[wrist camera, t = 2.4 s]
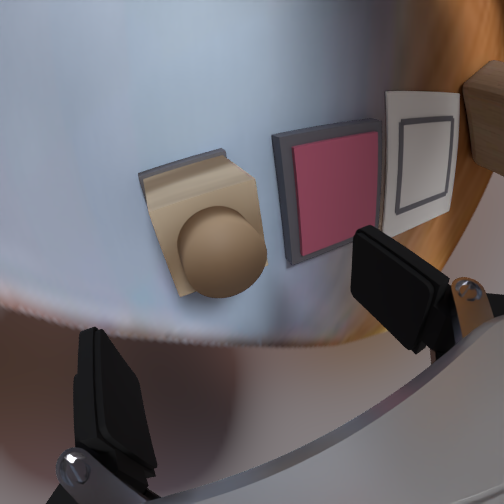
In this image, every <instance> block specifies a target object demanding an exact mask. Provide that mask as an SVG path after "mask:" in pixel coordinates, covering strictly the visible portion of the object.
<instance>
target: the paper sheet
mask: <svg viewBox="0 0 504 504" xmlns="http://www.w3.org/2000/svg"><path fill="white" fill-rule="evenodd" d="M385 98H386V178H385V197H384V211H383V223H382V232H383V233H385V234H386V235H388V236H389V237H394V236H396V235H398V234H400V233H402V232H405V231H407V230H409V229H411V228H414V227H416V226H418V225H420V224H422V223H424V222H427V221H429V220H431V219H433V218H435V217H437V216H439V215H442V214H444V213H446V212H448V211H449V210H450V204H451V198H452V192H453V185H454V177H455V169H456V160H457V150H458V137H459V117H460V94H459V93H448V92H428V91H385Z"/></svg>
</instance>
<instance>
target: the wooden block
mask: <svg viewBox="0 0 504 504" xmlns="http://www.w3.org/2000/svg"><path fill="white" fill-rule="evenodd" d="M463 96H464V101H465V106H466V112H467V118H468V124H469V131H470V139H471V148H472V158H473V160H474V162H475V163H477V164H478V165H480V166H482V167H484V168H487V169H489V170H491V171H493V172H496V173H498V174H500V175H502V176H504V62H501V61H496V60H492V61H489V62H488V63H487V64H486V65H485V66H483V67H482V68H481V69H480V70H479V71H477V72H476V73H475V74H474V75H473V76H472V77H470V78H469V79H468V80H467V81H466V82H464V85H463Z"/></svg>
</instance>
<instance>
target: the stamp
mask: <svg viewBox="0 0 504 504" xmlns="http://www.w3.org/2000/svg"><path fill="white" fill-rule="evenodd" d="M138 177H139V180H140V184H141V187H142V190H143V193H144V196H145V199H146V202H147V206H148V212H149V215H150V218H151V221H152V224H153V227H154V229H155V232H156V235H157V238H158V241H159V244H160V246H161V249H162V252H163V254H164V257H165V260H166V263H167V265H168V268H169V270H170V273H171V276H172V278H173V281H174V283H175V286H176V288H177V291H178V293H179V296H180V297H182V296H185V295H188V294H191V293H193V292H196V291H197V292H198V293H200V294H202V295H204V296H207V297H211V298H226V297H231V296H234V295H237V294H239V293H241V292H243V291H245V290H246V289H247V288H249V287H250V286H251V285H252V284H253V283H254V282H255V281H256V280H257V279H258V278H259V276H260V275H261V273H262V271H263V269H264V267H265V266H267V265H268V261H267V249H266V245H265V241H264V234H263V227H262V221H261V214H260V207H259V201H258V194H257V188H256V181H255V178H253V177H252V176H251V175H249V174H248V173H247V172H245V171H244V170H242V169H241V168H240V167H238V166H237V165H236V164H234V163H233V162H231V161H230V160H229V159H227V157H226V151H225V150H223V149H222V148H220V149H216V150H213V151H209V152H205V153H202V154H198V155H195V156H191V157H188V158H184V159H181V160H178V161H174V162H171V163H168V164H165V165H162V166H159V167H155V168H152V169H149V170H146V171H143V172H140V173H138Z"/></svg>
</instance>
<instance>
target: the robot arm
mask: <svg viewBox="0 0 504 504" xmlns="http://www.w3.org/2000/svg"><path fill="white" fill-rule="evenodd" d="M449 279H450V278H448V277H447V276H446V275H444V274H443V273H442V272H440V271H439V270H438V269H436V268H435V267H433V266H432V265H431V264H429V263H428V262H426V261H425V260H423V259H422V258H421V257H419V256H418V255H416V254H415V253H413V252H412V251H410V250H409V249H407V248H406V247H404V246H403V245H401V244H400V243H399V242H397V241H395V240H394V239H392V238H391V237H389V236H388V235H386V234H385V233H383V232H382V231H380V230H379V229H377V228H375V227H374V226H372V225H367V226H365V227H362V228H360V229H358V230H356V232H355V235H354V236H353V252H352V273H351V293H352V295H353V297H354V298H355V299H356V300H357V301H358V302H359V303H360V304H361V305H362V306H363V307H364V308H366V309H367V310H368V311H369V312H370V313H371V314H372V315H373V316H374V317H375V318H376V319H377V320H378V321H379V322H380V323H381V324H382V325H383V326H384V327H385V328H386V329H387V330H388V331H389V332H390V333H391V334H392V335H393V336H394V337H395V338H396V339H397V340H398V341H399V342H400V343H401V344H402V345H403V346H404V347H405V348H407V349H408V350H412V351H413V352H414V353H415V354H417V353H419V352H420V351H421V350H423V349H424V348H425V347H426V345H427V346H428V347H429V348H430V355H431V366H429V367H428V368H427V369H425V370H424V371H423V372H422V373H420V374H419V375H418V376H416V377H415V378H414V379H412V380H411V381H410V382H408V383H407V384H406V385H404V386H403V387H401V388H400V389H399V390H397V391H396V392H394V393H393V394H391V395H390V396H388V397H387V398H386V399H384V400H383V401H381V402H380V403H378V404H377V405H375V406H373V407H372V408H370V409H369V410H367V411H365V412H364V413H362V414H361V415H359V416H357V417H356V418H354V419H353V420H351V421H349V422H347V423H346V424H344V425H342V426H340V427H338V428H337V429H335V430H333V431H331V432H329V433H328V434H326V435H324V436H322V437H320V438H318V439H316V440H314V441H312V442H310V443H308V444H307V445H305V446H302V447H301V448H298V449H296V450H294V451H292V452H290V453H288V454H285V455H283V456H281V457H279V458H277V459H274V460H272V461H269V462H267V463H264V464H262V465H260V466H257V467H255V468H252V469H249V470H247V471H244V472H241V473H239V474H236V475H233V476H230V477H227V478H224V479H222V480H219V481H216V482H213V483H210V484H207V485H203V486H200V487H197V488H194V489H190V490H187V491H183V492H180V493H175V494H172V495H169V496H165V497H160V496H159V495H157V494H156V493H154V492H153V491H152V490H150V489H149V488H147V487H148V483H147V479H146V478H150V477H154V476H156V475H155V471H154V468H157V461H156V457H155V454H154V450H153V446H152V442H151V438H150V433H149V429H148V425H147V420H146V416H145V411H144V406H143V400H142V395H141V390H140V385H139V381H138V379H137V377H136V375H135V374H134V372H133V371H132V370H131V368H130V367H129V366H128V365H127V363H126V362H125V360H124V359H123V358H122V356H121V355H120V353H119V352H118V351H117V349H116V348H115V346H114V345H113V343H112V342H111V340H110V339H109V337H108V336H107V334H106V333H105V331H104V330H103V329H100V330H98V328H96V327H92V328H89V329H87V330H84V331H81V332H80V334H79V349H78V374H76V375H75V377H74V384H73V385H74V386H73V391H74V392H73V403H74V404H73V405H74V433H75V448H70V449H67V450H65V451H64V452H63V453H62V454H61V455H60V457H59V458H58V460H57V464H56V474H57V478H58V480H59V482H60V484H59V485H58V487H57V488H56V490H55V491H54V492H53V494H52V495H51V497H50V498H49V500H48V501H47V503H46V504H504V295H500V294H489V293H486V292H485V290H484V288H483V286H482V285H481V284H480V283H479V282H477V281H476V280H474V279H471V278H467V277H461V278H457V279H455V280H454V281H453V283H452V285H451V286H450V285H449V284H448V282H449Z"/></svg>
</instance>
